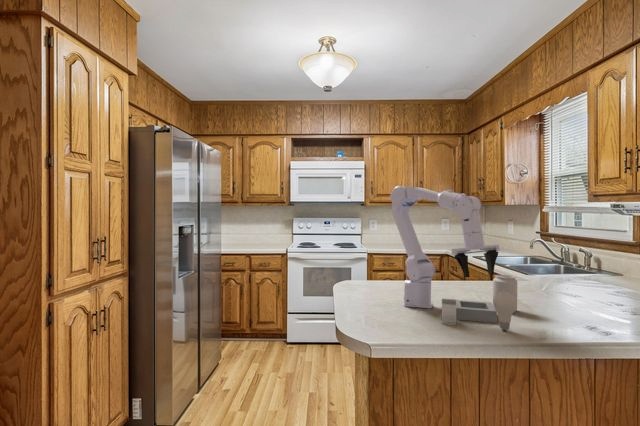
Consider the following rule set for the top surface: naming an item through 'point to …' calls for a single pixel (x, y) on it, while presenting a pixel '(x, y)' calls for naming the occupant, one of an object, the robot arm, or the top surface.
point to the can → (505, 285)
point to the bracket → (449, 311)
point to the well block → (475, 311)
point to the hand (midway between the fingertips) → (479, 275)
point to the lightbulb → (504, 308)
